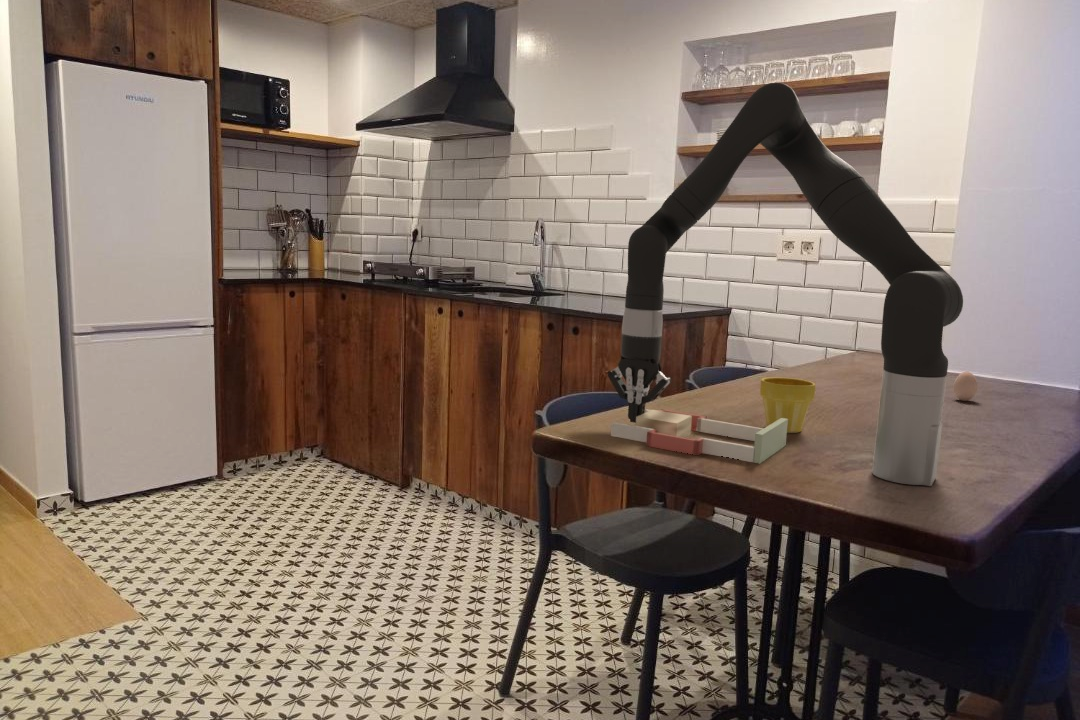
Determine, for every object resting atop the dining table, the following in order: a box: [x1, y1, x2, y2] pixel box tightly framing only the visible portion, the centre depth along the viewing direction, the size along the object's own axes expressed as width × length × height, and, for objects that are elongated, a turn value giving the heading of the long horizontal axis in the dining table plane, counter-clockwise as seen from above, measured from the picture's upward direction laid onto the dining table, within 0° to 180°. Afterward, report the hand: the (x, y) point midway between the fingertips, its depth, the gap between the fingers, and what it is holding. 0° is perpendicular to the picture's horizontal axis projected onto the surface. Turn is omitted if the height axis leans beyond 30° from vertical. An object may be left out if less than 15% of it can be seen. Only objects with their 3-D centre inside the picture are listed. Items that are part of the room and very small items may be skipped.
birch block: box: [635, 409, 692, 438], centre depth 152 cm, size 8×8×4 cm
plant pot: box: [759, 376, 816, 434], centre depth 161 cm, size 10×10×10 cm
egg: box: [952, 371, 979, 402], centre depth 202 cm, size 5×5×7 cm
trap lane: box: [610, 408, 788, 465], centre depth 149 cm, size 28×20×5 cm
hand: (635, 421), depth 156 cm, fingers closed
